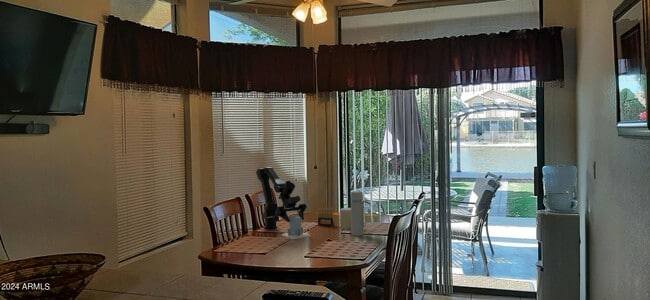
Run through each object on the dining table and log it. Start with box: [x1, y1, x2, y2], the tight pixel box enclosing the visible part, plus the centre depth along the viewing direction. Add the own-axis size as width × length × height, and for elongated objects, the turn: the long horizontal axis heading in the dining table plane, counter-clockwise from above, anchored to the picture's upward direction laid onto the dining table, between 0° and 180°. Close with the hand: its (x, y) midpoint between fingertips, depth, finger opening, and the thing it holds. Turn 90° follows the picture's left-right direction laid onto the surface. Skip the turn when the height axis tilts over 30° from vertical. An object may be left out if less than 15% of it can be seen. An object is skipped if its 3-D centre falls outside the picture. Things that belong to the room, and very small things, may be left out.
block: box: [288, 215, 302, 235], centre depth 278 cm, size 5×5×10 cm
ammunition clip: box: [317, 206, 335, 227], centre depth 310 cm, size 11×2×12 cm, turn 69°
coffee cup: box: [339, 207, 351, 230], centre depth 299 cm, size 9×9×12 cm
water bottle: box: [350, 190, 367, 237], centre depth 277 cm, size 9×8×25 cm
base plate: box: [281, 226, 311, 240], centre depth 279 cm, size 12×12×5 cm
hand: (296, 221), depth 277 cm, fingers open, 9 cm apart
